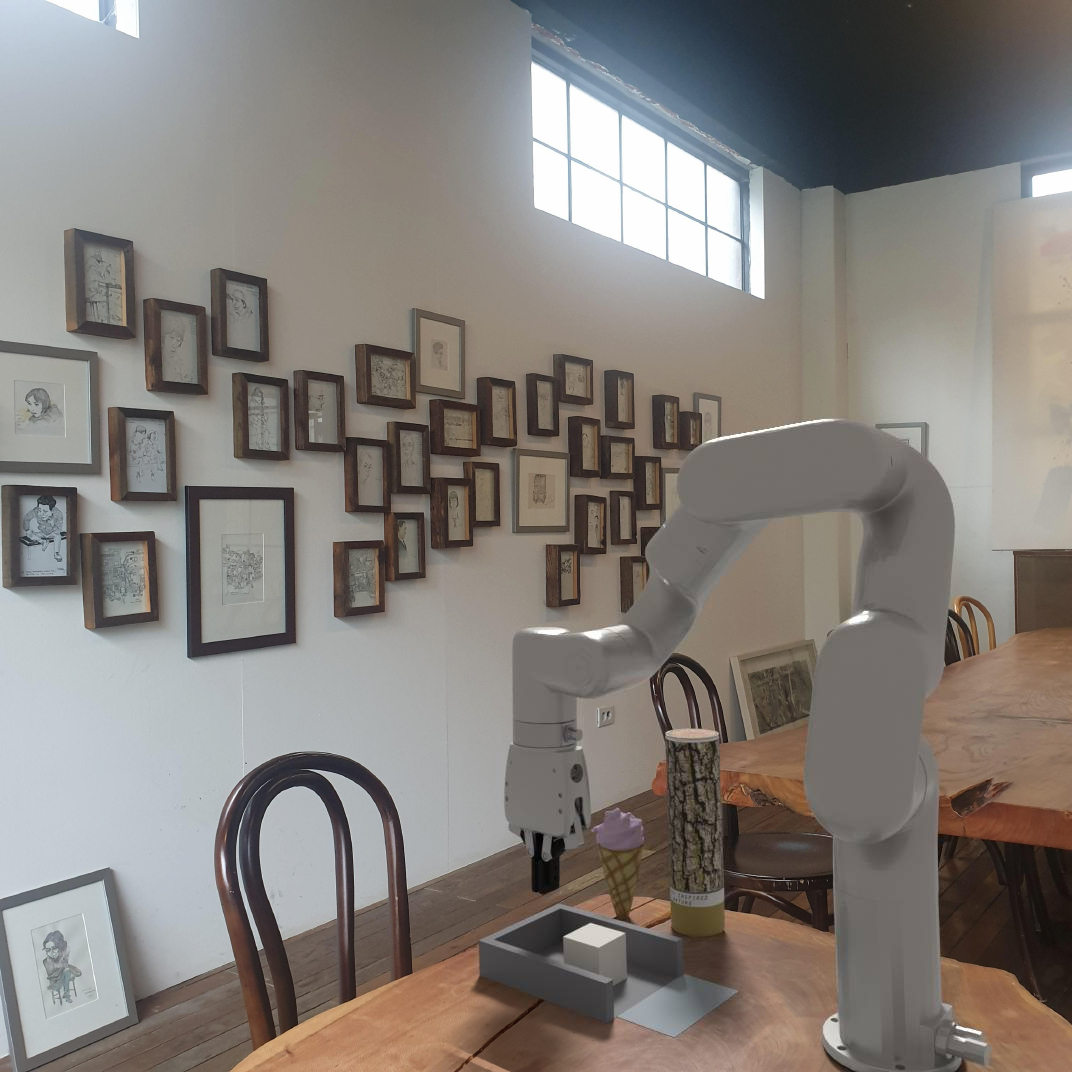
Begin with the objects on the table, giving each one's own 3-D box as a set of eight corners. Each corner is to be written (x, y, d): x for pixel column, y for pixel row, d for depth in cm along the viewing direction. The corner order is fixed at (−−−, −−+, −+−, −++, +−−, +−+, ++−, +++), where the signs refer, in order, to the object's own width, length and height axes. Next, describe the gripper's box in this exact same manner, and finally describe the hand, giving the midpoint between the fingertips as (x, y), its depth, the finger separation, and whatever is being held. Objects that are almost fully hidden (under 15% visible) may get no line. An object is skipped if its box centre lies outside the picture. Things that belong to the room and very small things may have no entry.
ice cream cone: (590, 926, 126) (586, 810, 126) (601, 909, 131) (597, 798, 132) (641, 930, 124) (637, 812, 124) (649, 913, 130) (646, 800, 130)
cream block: (627, 977, 109) (625, 933, 109) (600, 993, 105) (598, 947, 105) (591, 966, 112) (590, 922, 112) (564, 981, 109) (563, 936, 109)
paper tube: (725, 942, 119) (718, 738, 120) (669, 939, 121) (663, 738, 121) (725, 921, 126) (719, 728, 126) (672, 919, 127) (666, 728, 128)
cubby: (738, 995, 105) (737, 953, 105) (665, 1049, 94) (663, 1002, 94) (560, 939, 122) (559, 903, 122) (479, 979, 111) (478, 940, 111)
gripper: (615, 736, 111) (616, 896, 111) (518, 721, 121) (519, 867, 121) (574, 747, 106) (575, 916, 106) (476, 730, 116) (477, 884, 116)
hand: (545, 889), depth 113 cm, fingers closed
